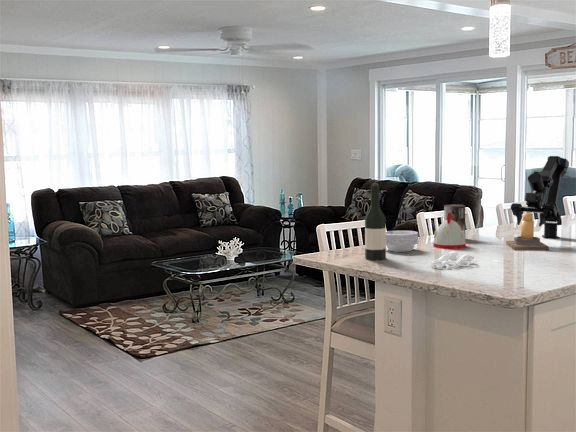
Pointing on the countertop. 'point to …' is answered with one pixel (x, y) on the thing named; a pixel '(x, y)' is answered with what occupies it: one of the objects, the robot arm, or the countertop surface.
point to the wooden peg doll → (527, 226)
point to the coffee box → (456, 214)
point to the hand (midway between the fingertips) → (528, 225)
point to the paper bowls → (401, 240)
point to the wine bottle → (375, 229)
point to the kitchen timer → (449, 235)
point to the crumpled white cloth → (452, 261)
